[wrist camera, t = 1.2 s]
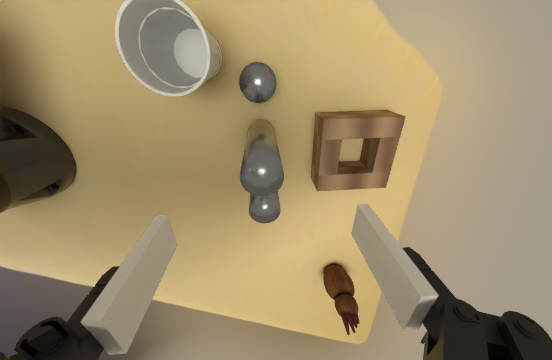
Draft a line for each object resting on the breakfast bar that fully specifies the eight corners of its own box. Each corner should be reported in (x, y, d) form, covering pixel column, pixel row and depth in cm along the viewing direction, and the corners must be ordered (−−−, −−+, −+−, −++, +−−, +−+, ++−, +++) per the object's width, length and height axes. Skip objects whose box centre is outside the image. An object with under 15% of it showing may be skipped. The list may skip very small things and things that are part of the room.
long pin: (249, 145, 36) (242, 197, 22) (247, 119, 34) (237, 158, 20) (274, 144, 36) (283, 194, 22) (274, 119, 34) (283, 156, 20)
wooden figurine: (316, 270, 53) (334, 337, 40) (332, 257, 51) (358, 323, 38) (333, 280, 55) (356, 346, 42) (349, 268, 53) (379, 334, 40)
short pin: (245, 96, 32) (241, 103, 26) (242, 63, 30) (237, 62, 24) (273, 95, 32) (276, 102, 26) (272, 62, 30) (276, 62, 24)
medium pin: (252, 185, 40) (250, 224, 30) (250, 164, 37) (247, 198, 28) (275, 184, 40) (280, 222, 30) (275, 163, 38) (280, 197, 28)
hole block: (310, 177, 40) (317, 191, 35) (315, 112, 34) (323, 119, 29) (372, 174, 40) (385, 187, 36) (386, 110, 34) (405, 116, 30)
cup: (239, 64, 30) (228, 64, 19) (197, 97, 31) (166, 112, 21) (200, 4, 26) (161, -37, 16) (155, 44, 28) (93, 31, 18)
